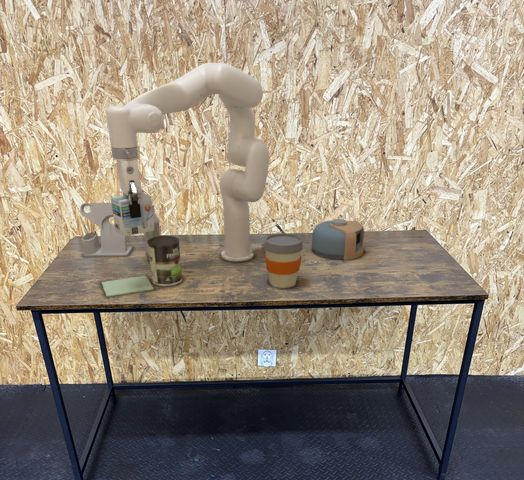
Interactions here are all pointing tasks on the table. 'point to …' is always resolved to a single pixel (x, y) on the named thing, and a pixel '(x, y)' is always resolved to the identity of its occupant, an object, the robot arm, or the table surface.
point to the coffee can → (165, 260)
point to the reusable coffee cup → (283, 259)
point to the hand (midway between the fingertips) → (133, 213)
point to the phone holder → (103, 233)
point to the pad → (127, 286)
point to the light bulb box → (132, 225)
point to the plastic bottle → (152, 232)
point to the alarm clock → (338, 239)
